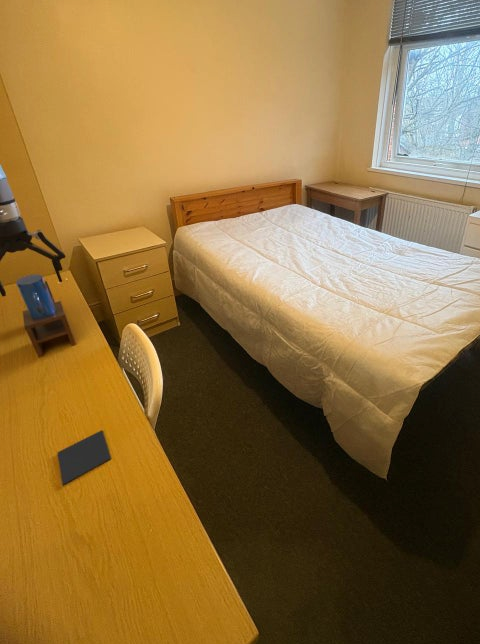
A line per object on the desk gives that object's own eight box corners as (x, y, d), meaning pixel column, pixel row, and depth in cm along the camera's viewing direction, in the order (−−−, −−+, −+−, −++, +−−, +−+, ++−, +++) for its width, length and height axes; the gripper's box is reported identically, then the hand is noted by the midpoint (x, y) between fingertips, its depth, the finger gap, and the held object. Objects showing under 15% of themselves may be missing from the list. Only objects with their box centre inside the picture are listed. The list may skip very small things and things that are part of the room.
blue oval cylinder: (30, 311, 100) (15, 278, 95) (54, 305, 104) (41, 272, 99) (31, 324, 95) (16, 290, 89) (57, 317, 98) (44, 283, 93)
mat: (57, 453, 72) (57, 452, 72) (102, 430, 78) (102, 429, 77) (63, 485, 66) (62, 484, 66) (111, 459, 71) (110, 458, 71)
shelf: (36, 341, 106) (22, 311, 101) (71, 329, 112) (60, 300, 106) (38, 357, 99) (24, 326, 94) (76, 344, 105) (64, 314, 100)
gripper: (-64, 232, 76) (-24, 306, 86) (61, 213, 91) (83, 279, 100) (-60, 224, 82) (-22, 295, 91) (58, 208, 96) (79, 270, 106)
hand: (33, 287), depth 96 cm, fingers open, 13 cm apart
